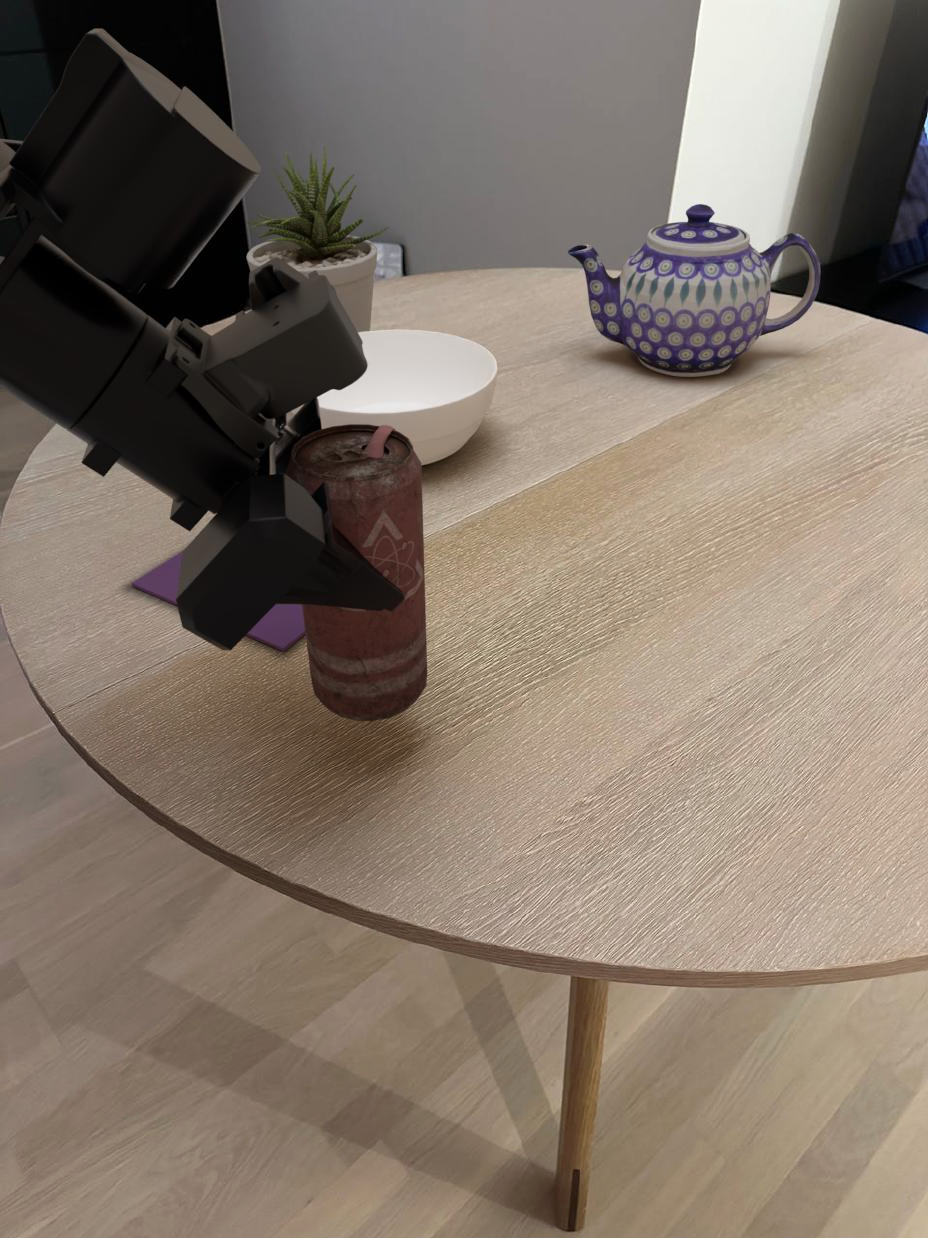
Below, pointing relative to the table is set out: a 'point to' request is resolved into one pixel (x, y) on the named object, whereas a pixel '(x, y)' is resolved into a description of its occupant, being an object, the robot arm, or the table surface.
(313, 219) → the potted plant
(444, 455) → the bowl
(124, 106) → the robot arm
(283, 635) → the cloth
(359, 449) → the can
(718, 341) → the teapot
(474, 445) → the table surface
